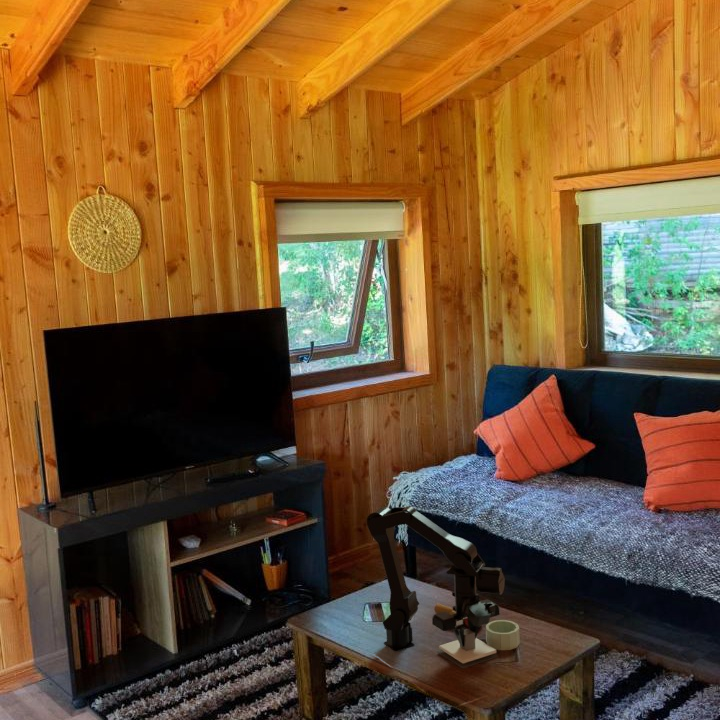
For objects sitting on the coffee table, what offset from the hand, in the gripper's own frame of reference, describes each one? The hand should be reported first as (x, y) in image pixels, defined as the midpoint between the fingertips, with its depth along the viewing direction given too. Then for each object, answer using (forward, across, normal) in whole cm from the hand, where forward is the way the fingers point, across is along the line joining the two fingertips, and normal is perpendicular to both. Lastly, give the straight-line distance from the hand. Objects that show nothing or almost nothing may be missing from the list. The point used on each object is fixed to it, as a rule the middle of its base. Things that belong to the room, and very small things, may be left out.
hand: (467, 644), depth 245 cm
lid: (+2, 0, 0) cm, 2 cm away
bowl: (+3, +12, 0) cm, 12 cm away
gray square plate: (+3, 0, 0) cm, 3 cm away
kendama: (+4, +11, +20) cm, 23 cm away
